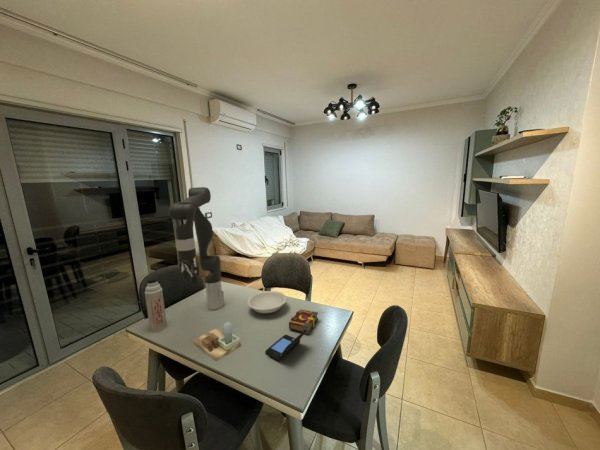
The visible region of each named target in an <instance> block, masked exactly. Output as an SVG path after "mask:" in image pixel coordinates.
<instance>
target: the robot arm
mask: <svg viewBox="0 0 600 450" xmlns="http://www.w3.org/2000/svg"><path fill="white" fill-rule="evenodd" d="M211 194H212V193H211V191H210V189H209V188H208V187H206V186H203V187H202V186H201V187H199V186H198V187H190V188H189V189H188V197H186V198H185V199H183V201H179V202H176V203H173V204H171V206H170V207H169V209H168V215H169V217H170V218H171V219H172V220H174V221H186V222H185V223H184V224H181V225H178V226H176V227H175V235H176V236H175V237H176V249H177V257H178V269H179V271H180V272H181V274H182V279H183V281H187V280H189V275H190V276H191V278H190V279H191V284H192V285H196V284H198V277H197V276H200V270H199V264H200V267H201V270H202V271H204V272H208V271H209V272H212V273H210V274H208V275H206V276H205V278H204V284H205V293H206V303H207V309H208V310H210V311H215V310H218V309H221V308H223V306H225V296H224V290H223V289H222V271H221V268H222V267H221V265H222V264H221V258H220V256H219V255H208V247H209V246H210V243H211V242H212V240H213V237H214V232H213V231H214V230H213V225H212V223H211V221H210V220H209V218H208V217H207V216H205V215H204V214H203V212H202V211H201V209H200V207H201V206H204V205H206V204H209V203H210V201H211V198H212V195H211ZM194 229H195V235H196V238H197V239H196V240H197V243H198V244H197V245H198V250H199V251H198V252H199V262H200V263H198V261H194V259H195V258H196V257H197V251H196V249H197V248H196V241H195V237H194V236H195V235H194Z"/></svg>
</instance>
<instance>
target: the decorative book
mask: <svg viewBox="0 0 600 450" xmlns="http://www.w3.org/2000/svg"><path fill="white" fill-rule="evenodd" d="M318 314H319V312H317V311H311V310H305V309H299V310H298V311H296V313H295V315H294V316H292V317H291V318H290V321H289V322H288V329H289V330H291V331H295V332H300V333H302V332H303V331H304V330H306V332H305V333H304V335H305V334H306V335H309V334H310V332H311V331H312V329H313V328H314V327H315V324H316V323H317V322H318V320H319V317H318Z"/></svg>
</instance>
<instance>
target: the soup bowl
mask: <svg viewBox="0 0 600 450" xmlns="http://www.w3.org/2000/svg"><path fill="white" fill-rule="evenodd" d="M287 301H288V298H287V296H286V295H285V294H284V293H282V292H279V291H276V290H268V291H261V292H257V293H254V294H252V295H251V296H250V297H249V298H247V302H246V303H247V305H248V307H250V309H252V310H253V311H255V312H257V313H259V314H272V313H275V312H276V311H278V310H280V309H281V308H282V307H283V306H284V305H285V304H286V302H287Z"/></svg>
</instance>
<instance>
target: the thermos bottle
mask: <svg viewBox="0 0 600 450" xmlns="http://www.w3.org/2000/svg"><path fill="white" fill-rule="evenodd" d="M146 284H147V285H146V287H145V291H144V297H145V305H146V310H147V318H148V324H149V326H148V327H149V331H150V332H151V333H157V332H162V331H163V330H165V329H166V328H167V327H168V325H167V324H168V323H167V317H166V316H167V315H166V308H165V300H164V295H163V293H164V292H163V287H161V284H160V283H159V282H158V278H150V279H148V280H146Z"/></svg>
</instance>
